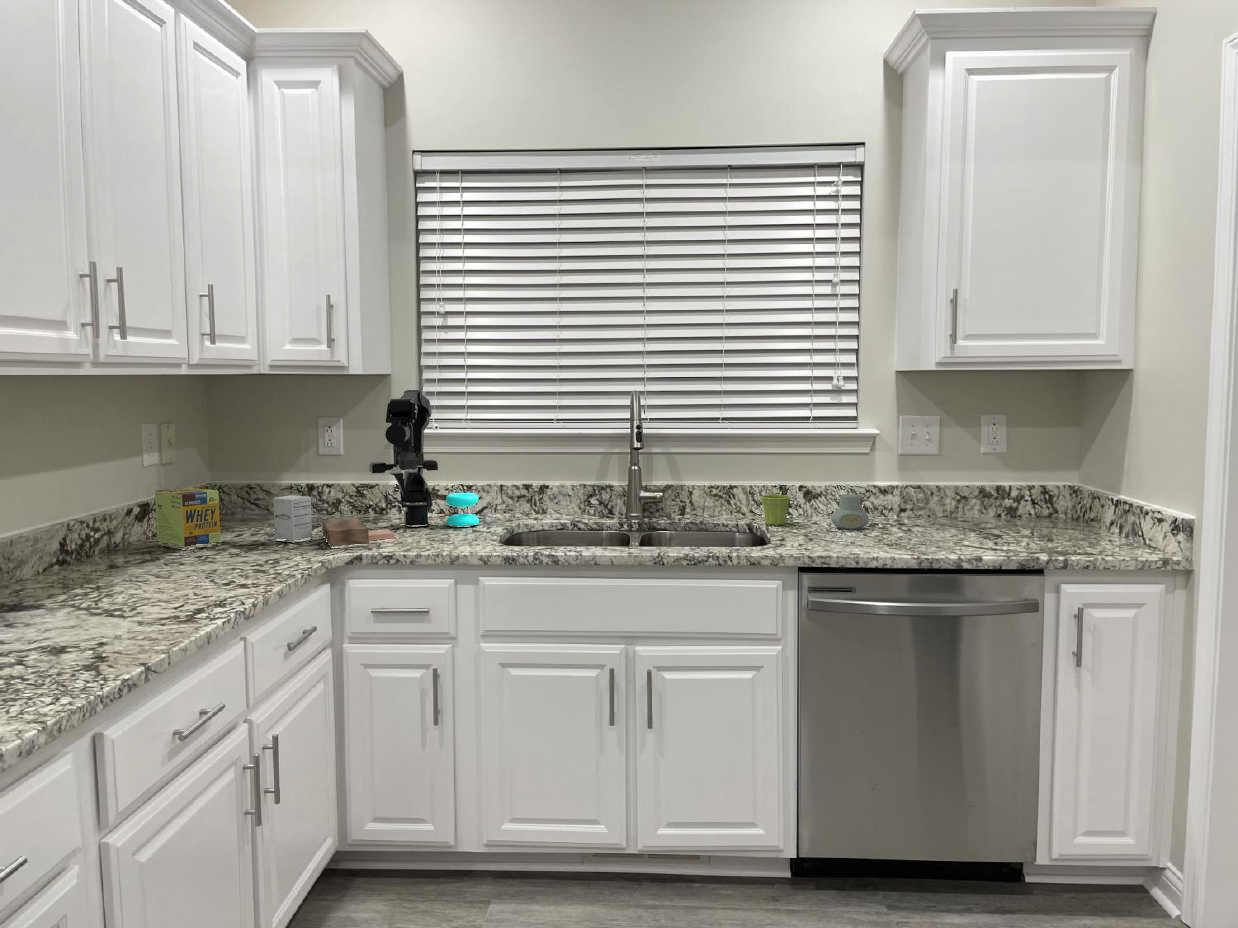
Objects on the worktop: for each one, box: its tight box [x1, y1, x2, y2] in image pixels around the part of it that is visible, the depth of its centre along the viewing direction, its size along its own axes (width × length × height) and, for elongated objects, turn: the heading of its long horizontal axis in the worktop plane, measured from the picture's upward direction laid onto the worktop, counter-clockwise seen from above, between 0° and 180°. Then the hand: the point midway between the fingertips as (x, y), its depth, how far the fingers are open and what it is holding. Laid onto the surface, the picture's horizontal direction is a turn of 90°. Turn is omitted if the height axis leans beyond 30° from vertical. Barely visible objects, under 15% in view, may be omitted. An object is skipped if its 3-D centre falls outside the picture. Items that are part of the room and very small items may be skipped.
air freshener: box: [830, 493, 870, 531], centre depth 267 cm, size 11×8×10 cm
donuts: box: [445, 492, 480, 526], centre depth 279 cm, size 10×10×10 cm
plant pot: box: [759, 494, 792, 526], centre depth 277 cm, size 9×9×9 cm
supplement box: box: [273, 495, 313, 540], centre depth 254 cm, size 7×7×13 cm
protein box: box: [154, 487, 222, 547], centre depth 248 cm, size 10×15×16 cm
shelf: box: [321, 518, 369, 547], centre depth 252 cm, size 10×20×5 cm, turn 24°
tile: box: [368, 528, 395, 541], centre depth 251 cm, size 15×8×3 cm, turn 118°
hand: (404, 496), depth 260 cm, fingers closed
